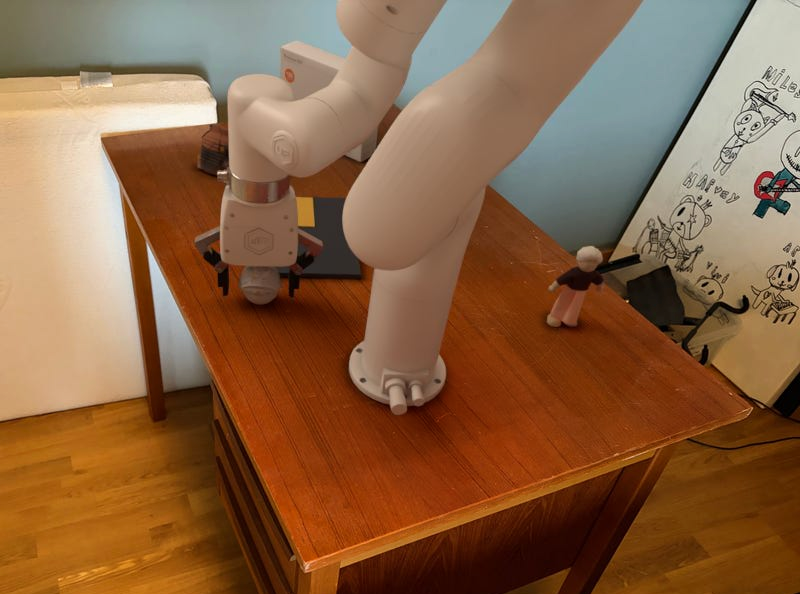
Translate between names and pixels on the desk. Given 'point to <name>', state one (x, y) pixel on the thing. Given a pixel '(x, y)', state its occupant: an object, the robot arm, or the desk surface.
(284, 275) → the desk mat
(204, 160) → the pottery mug
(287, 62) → the white product box
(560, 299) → the grandmother figurine
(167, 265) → the desk surface
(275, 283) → the carved stone head
